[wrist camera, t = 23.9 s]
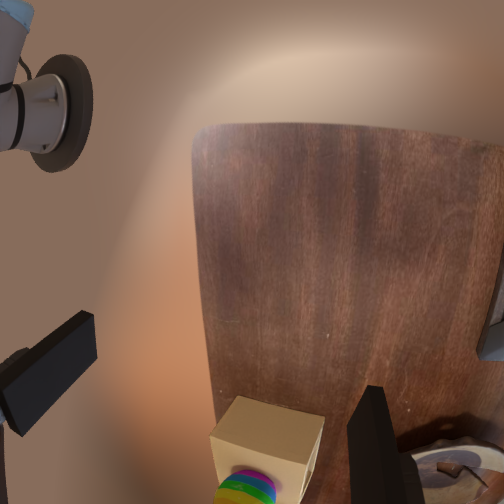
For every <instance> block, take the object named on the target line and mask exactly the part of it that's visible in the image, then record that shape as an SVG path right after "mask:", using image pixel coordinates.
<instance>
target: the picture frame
mask: <svg viewBox="0 0 504 504" xmlns="http://www.w3.org/2000/svg"><path fill="white" fill-rule="evenodd" d="M476 352H477V355H478V358H479V360H489V361H504V245H503V250H502V256H501V261H500V266H499V271H498V275H497V280H496V284H495V288H494V292H493V296H492V300H491V304H490V307H489V311H488V314H487V318H486V321H485V324H484V328H483V331H482V334H481V337H480V340H479V343H478V346H477V349H476Z"/></svg>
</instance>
